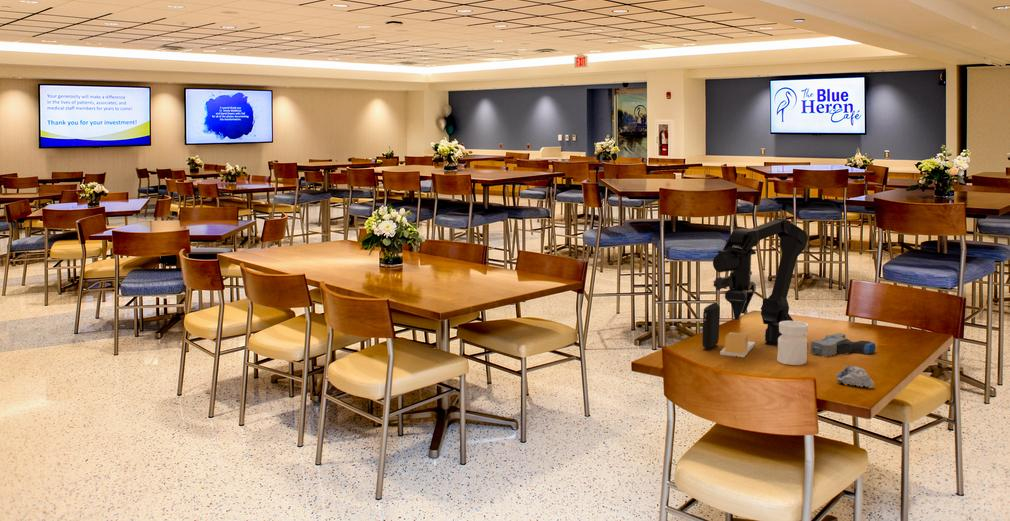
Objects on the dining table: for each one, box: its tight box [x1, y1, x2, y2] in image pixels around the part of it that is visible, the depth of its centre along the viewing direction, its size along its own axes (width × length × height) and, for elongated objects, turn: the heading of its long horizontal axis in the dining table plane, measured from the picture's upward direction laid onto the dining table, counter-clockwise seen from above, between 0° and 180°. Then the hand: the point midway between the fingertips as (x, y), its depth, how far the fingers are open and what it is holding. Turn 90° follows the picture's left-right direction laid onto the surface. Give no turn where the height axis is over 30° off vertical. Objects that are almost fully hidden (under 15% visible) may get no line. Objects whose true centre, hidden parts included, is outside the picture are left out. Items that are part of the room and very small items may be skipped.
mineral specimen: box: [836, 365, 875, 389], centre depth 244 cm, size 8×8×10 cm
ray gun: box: [810, 332, 876, 358], centre depth 277 cm, size 4×19×15 cm
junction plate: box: [719, 332, 756, 358], centre depth 281 cm, size 8×17×4 cm, turn 153°
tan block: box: [724, 331, 749, 353], centre depth 276 cm, size 6×6×5 cm
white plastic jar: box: [776, 320, 809, 366], centre depth 267 cm, size 9×9×12 cm
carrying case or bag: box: [701, 302, 721, 350], centre depth 282 cm, size 11×3×15 cm, turn 145°
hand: (739, 316), depth 277 cm, fingers open, 9 cm apart
